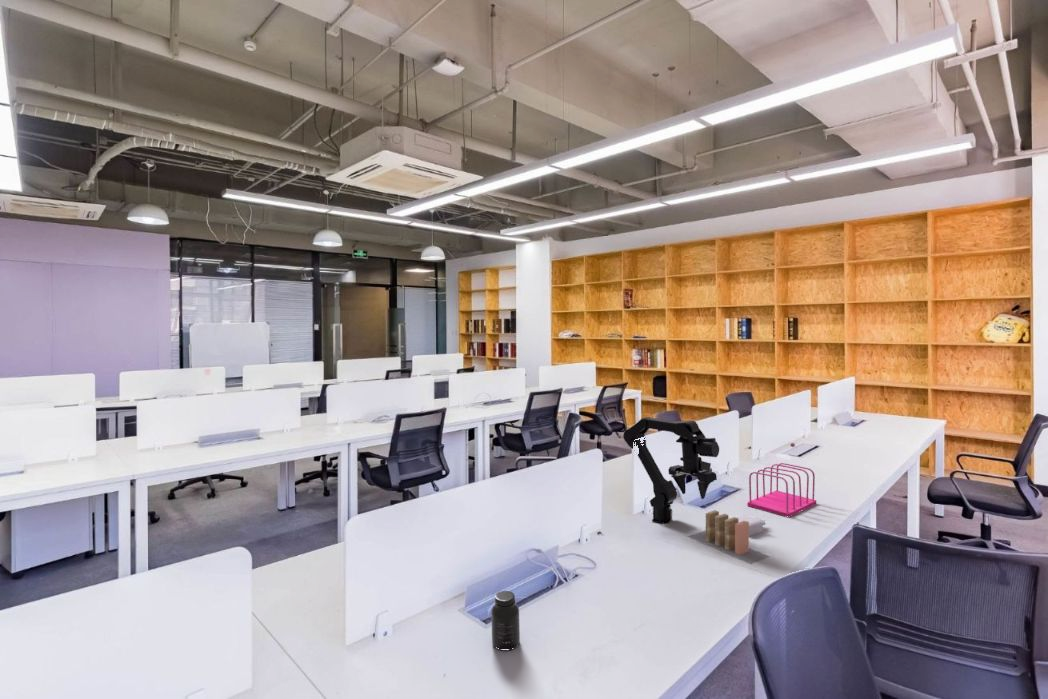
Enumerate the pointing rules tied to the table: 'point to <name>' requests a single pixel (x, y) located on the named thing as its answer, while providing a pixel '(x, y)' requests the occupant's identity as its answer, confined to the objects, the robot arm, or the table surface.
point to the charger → (752, 523)
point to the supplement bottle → (505, 621)
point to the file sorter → (781, 494)
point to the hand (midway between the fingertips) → (693, 496)
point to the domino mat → (748, 557)
